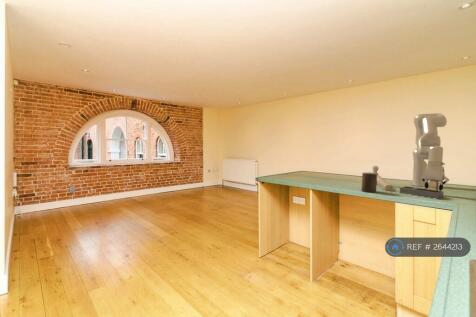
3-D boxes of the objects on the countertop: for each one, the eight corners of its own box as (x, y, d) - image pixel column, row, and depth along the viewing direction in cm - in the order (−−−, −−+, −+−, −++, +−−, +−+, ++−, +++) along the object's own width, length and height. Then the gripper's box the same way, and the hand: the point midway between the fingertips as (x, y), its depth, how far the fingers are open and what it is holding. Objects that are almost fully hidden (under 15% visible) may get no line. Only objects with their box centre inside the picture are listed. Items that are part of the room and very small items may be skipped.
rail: (405, 191, 172) (405, 186, 172) (443, 197, 153) (443, 191, 153) (399, 192, 167) (399, 187, 167) (438, 199, 148) (438, 193, 148)
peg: (430, 193, 164) (431, 179, 164) (437, 194, 161) (438, 180, 160) (428, 194, 162) (429, 180, 162) (435, 195, 159) (436, 181, 158)
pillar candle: (367, 192, 167) (369, 172, 166) (358, 190, 177) (359, 170, 176) (379, 192, 169) (380, 172, 168) (369, 189, 179) (370, 170, 178)
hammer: (393, 178, 171) (377, 165, 199) (386, 178, 172) (371, 165, 200) (390, 197, 176) (375, 182, 204) (383, 197, 177) (369, 182, 205)
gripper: (453, 164, 155) (451, 190, 156) (422, 162, 170) (420, 186, 171) (449, 165, 151) (447, 192, 152) (417, 163, 166) (416, 187, 167)
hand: (433, 189), depth 161 cm, fingers open, 7 cm apart
